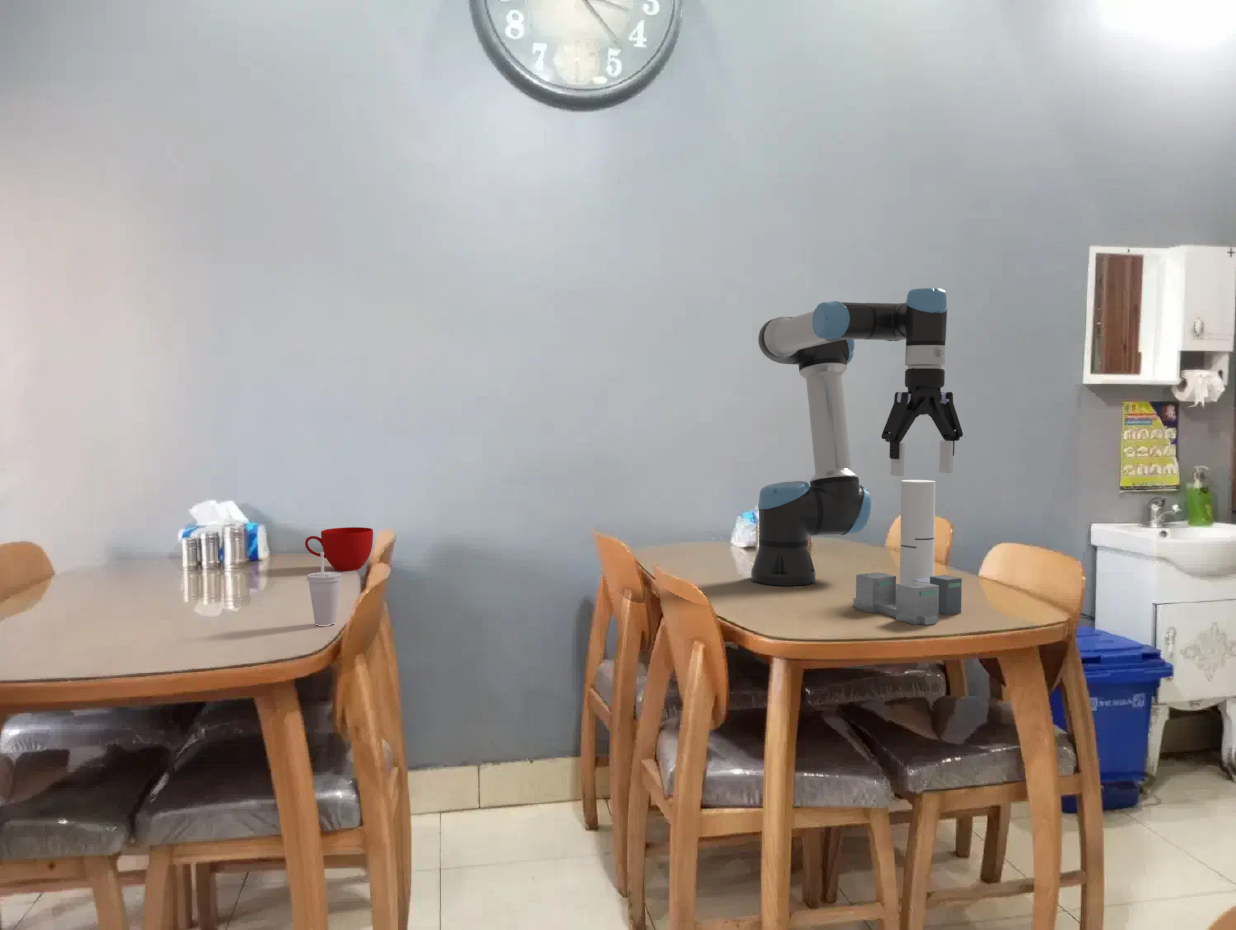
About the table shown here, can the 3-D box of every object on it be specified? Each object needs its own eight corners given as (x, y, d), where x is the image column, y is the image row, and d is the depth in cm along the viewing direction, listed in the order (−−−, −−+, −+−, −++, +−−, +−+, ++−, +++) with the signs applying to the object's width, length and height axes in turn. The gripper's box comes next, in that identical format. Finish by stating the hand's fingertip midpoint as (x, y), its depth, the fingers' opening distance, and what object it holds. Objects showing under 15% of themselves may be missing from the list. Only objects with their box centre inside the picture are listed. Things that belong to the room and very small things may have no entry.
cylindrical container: (935, 597, 202) (937, 482, 200) (901, 596, 203) (902, 482, 202) (931, 591, 209) (933, 479, 207) (898, 590, 210) (899, 479, 209)
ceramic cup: (306, 566, 245) (305, 529, 245) (372, 563, 250) (371, 526, 250) (305, 575, 233) (304, 535, 232) (375, 571, 238) (374, 532, 237)
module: (929, 610, 189) (929, 576, 189) (944, 608, 191) (944, 574, 191) (947, 615, 185) (947, 580, 185) (961, 612, 187) (962, 578, 187)
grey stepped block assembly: (847, 606, 194) (848, 572, 193) (870, 603, 196) (870, 570, 196) (918, 626, 176) (919, 589, 175) (942, 622, 178) (942, 586, 178)
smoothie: (330, 619, 184) (328, 548, 183) (349, 623, 180) (348, 551, 179) (301, 624, 179) (299, 552, 178) (320, 629, 175) (318, 555, 174)
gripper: (893, 366, 176) (890, 478, 178) (983, 368, 188) (979, 472, 190) (864, 367, 183) (862, 475, 184) (953, 368, 195) (950, 470, 196)
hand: (921, 474), depth 187 cm, fingers open, 13 cm apart
